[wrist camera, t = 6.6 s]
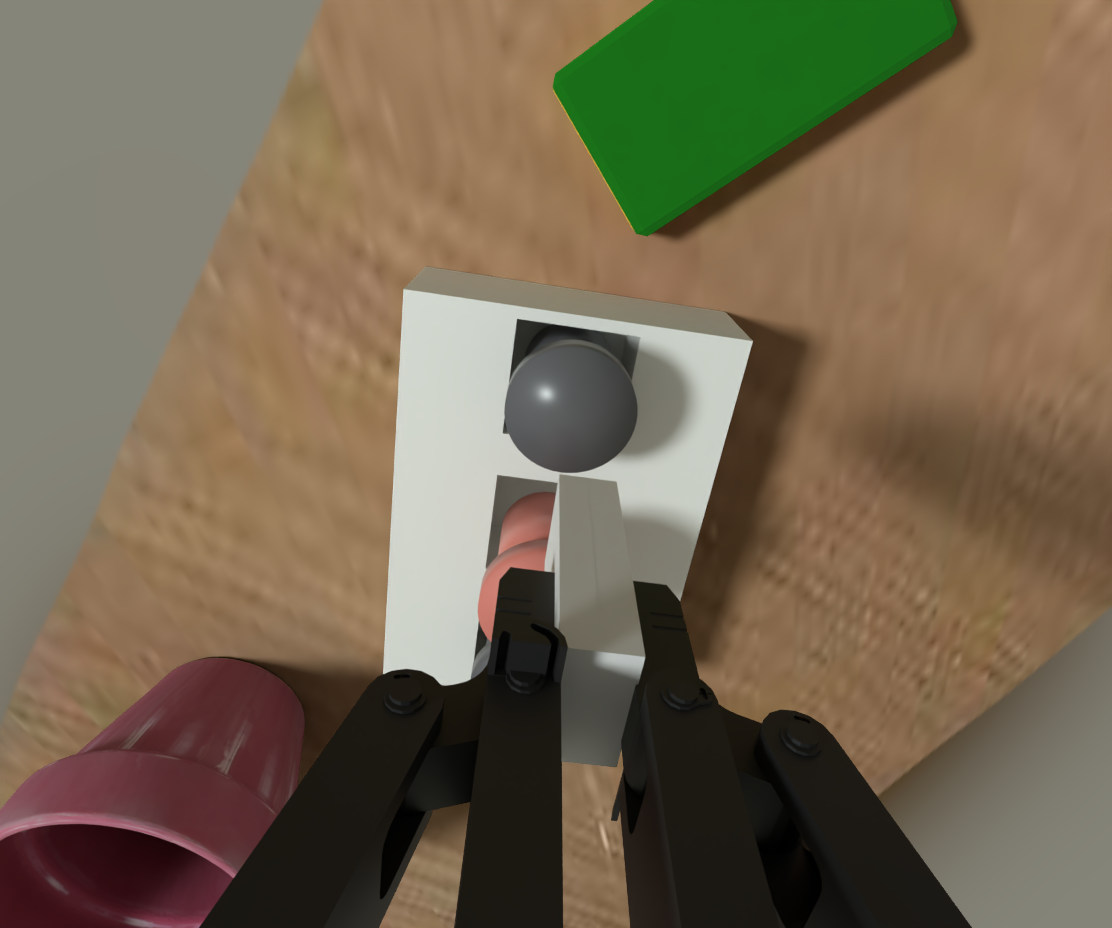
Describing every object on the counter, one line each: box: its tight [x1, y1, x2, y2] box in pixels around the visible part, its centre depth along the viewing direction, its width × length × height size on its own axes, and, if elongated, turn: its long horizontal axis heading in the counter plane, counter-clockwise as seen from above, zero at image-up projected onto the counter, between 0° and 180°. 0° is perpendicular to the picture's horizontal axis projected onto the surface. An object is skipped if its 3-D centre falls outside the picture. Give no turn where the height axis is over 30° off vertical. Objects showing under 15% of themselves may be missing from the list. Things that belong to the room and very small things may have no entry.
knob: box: [504, 324, 638, 473], centre depth 29 cm, size 5×5×6 cm
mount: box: [383, 266, 753, 686], centre depth 34 cm, size 14×20×5 cm
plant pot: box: [0, 658, 305, 928], centre depth 37 cm, size 14×14×13 cm
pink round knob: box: [478, 492, 556, 642], centre depth 29 cm, size 5×5×6 cm
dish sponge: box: [553, 0, 958, 236], centre depth 27 cm, size 7×14×2 cm, turn 123°
